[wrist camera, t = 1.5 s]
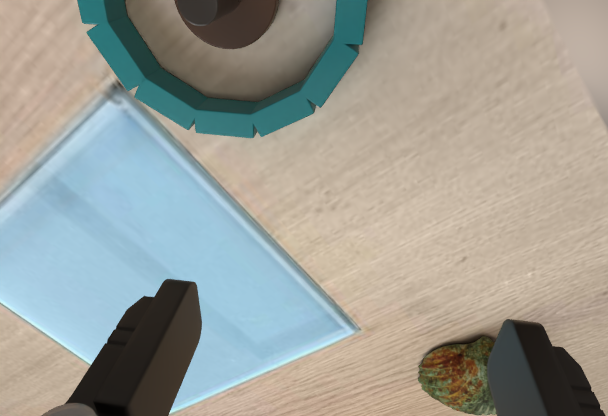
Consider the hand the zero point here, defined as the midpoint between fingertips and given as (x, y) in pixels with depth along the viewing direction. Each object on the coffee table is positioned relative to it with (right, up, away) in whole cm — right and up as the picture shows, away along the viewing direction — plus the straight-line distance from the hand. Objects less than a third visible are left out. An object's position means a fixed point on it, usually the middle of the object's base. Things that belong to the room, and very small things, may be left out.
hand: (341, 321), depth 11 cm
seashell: (+15, -12, +28) cm, 34 cm away
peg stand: (-5, +16, +13) cm, 21 cm away
